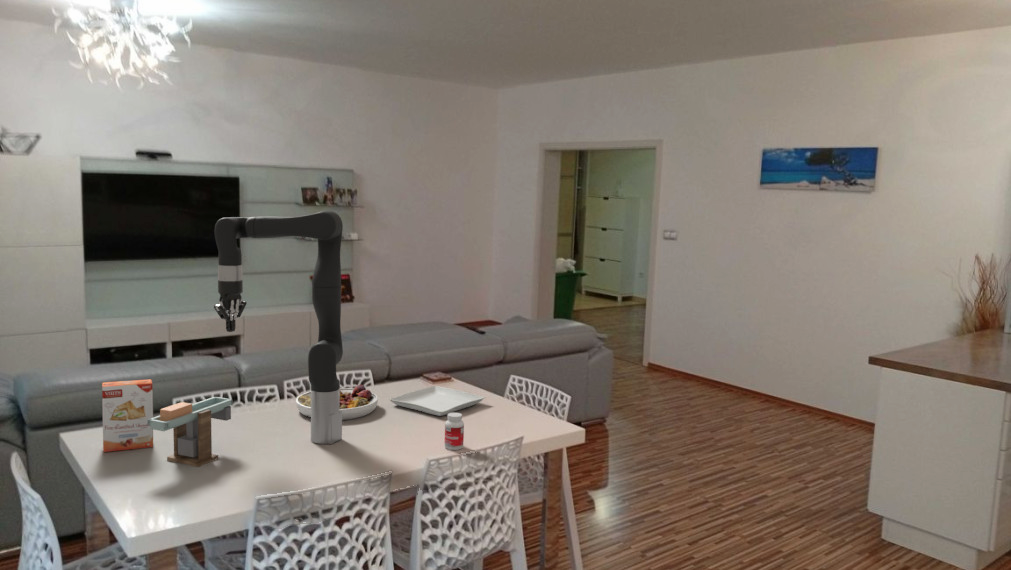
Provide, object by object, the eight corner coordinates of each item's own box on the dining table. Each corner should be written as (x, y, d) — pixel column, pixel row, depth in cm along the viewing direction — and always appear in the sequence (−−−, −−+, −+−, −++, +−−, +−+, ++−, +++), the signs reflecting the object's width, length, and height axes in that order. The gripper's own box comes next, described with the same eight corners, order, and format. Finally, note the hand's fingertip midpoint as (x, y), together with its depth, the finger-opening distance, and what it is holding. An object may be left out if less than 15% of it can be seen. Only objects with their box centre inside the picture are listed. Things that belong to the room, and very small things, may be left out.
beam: (233, 441, 233) (232, 399, 231) (167, 469, 209) (166, 423, 207) (216, 437, 235) (214, 396, 233) (149, 465, 211) (147, 419, 209)
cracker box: (103, 453, 224) (101, 386, 222) (103, 447, 230) (101, 381, 227) (154, 447, 231) (152, 382, 228) (153, 441, 236) (151, 378, 234)
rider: (192, 416, 218) (192, 403, 217) (170, 424, 210) (170, 411, 210) (182, 415, 219) (181, 402, 219) (160, 422, 212) (159, 409, 211)
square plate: (434, 393, 307) (434, 384, 307) (486, 405, 291) (486, 396, 291) (388, 406, 285) (388, 397, 285) (441, 421, 269) (441, 410, 269)
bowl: (337, 428, 257) (337, 406, 256) (278, 413, 272) (278, 392, 271) (394, 409, 282) (394, 389, 281) (337, 396, 298) (337, 377, 297)
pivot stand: (218, 458, 223) (217, 408, 222) (198, 466, 216) (197, 415, 214) (187, 452, 228) (187, 403, 226) (167, 460, 220) (166, 409, 219)
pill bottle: (441, 448, 239) (441, 415, 237) (449, 443, 244) (450, 410, 243) (458, 451, 236) (459, 418, 235) (466, 446, 242) (467, 413, 241)
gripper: (224, 281, 232) (225, 335, 234) (253, 277, 244) (253, 329, 246) (206, 279, 235) (206, 333, 237) (235, 276, 247) (236, 327, 249)
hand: (230, 331), depth 241 cm, fingers closed
